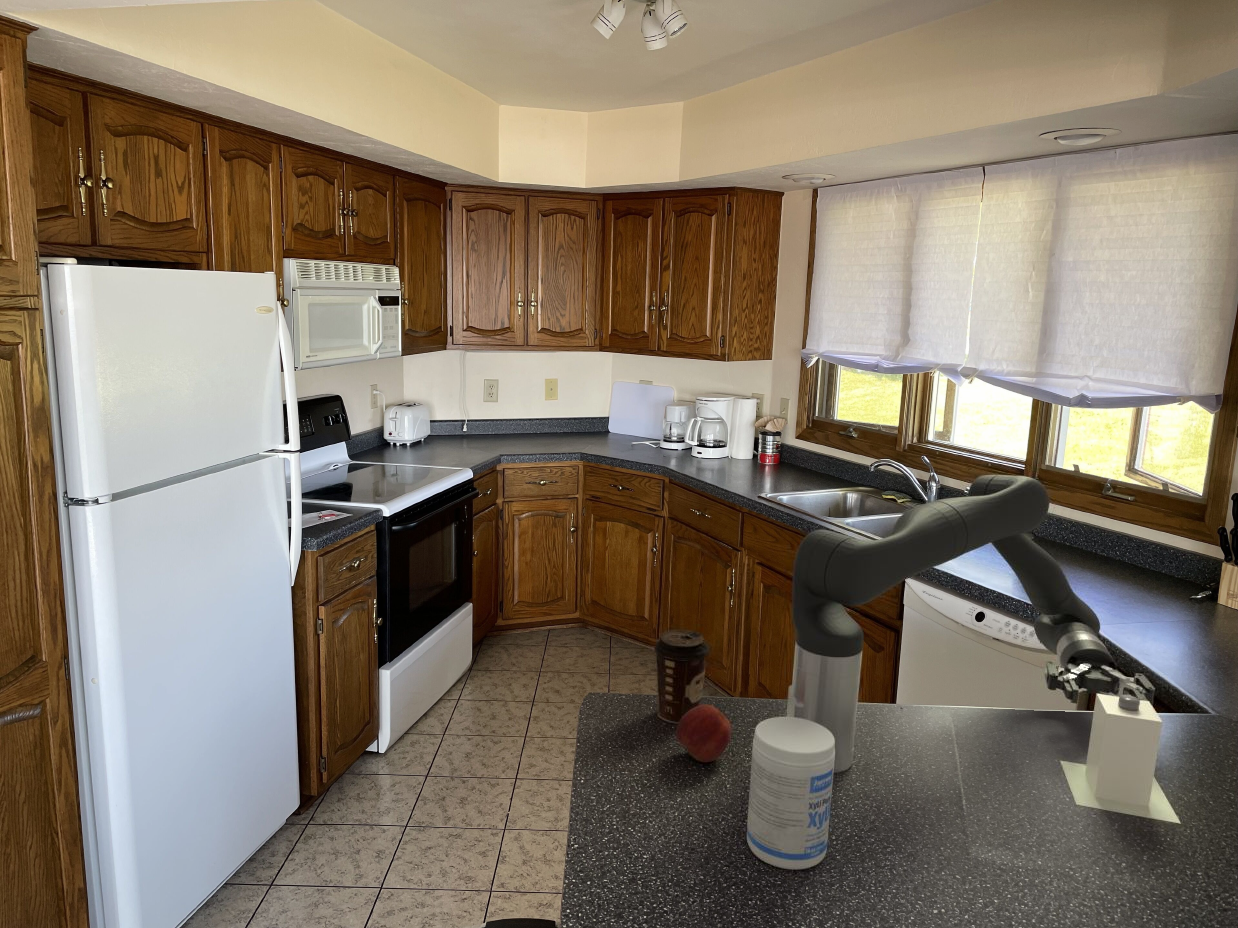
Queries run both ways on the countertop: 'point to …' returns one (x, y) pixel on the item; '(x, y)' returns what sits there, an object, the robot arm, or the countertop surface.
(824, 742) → the supplement tub
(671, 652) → the coffee cup
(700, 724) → the apple
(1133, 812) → the mat
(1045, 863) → the countertop surface
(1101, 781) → the cover
